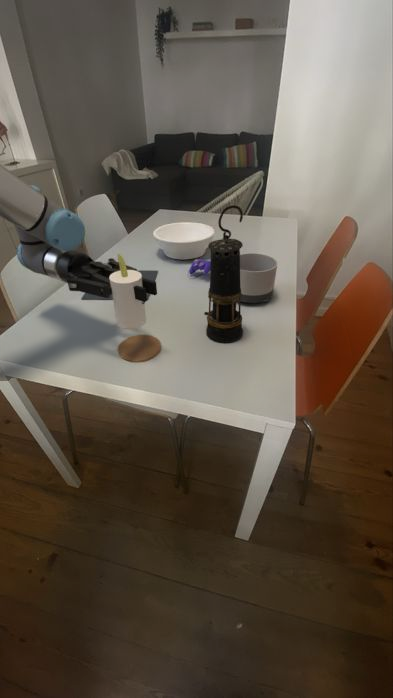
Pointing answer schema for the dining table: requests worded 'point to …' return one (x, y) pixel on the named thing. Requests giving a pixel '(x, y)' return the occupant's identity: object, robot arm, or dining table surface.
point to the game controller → (200, 266)
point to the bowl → (184, 239)
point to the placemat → (145, 274)
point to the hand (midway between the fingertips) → (150, 291)
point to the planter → (257, 277)
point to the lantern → (225, 288)
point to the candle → (127, 297)
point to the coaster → (139, 348)
